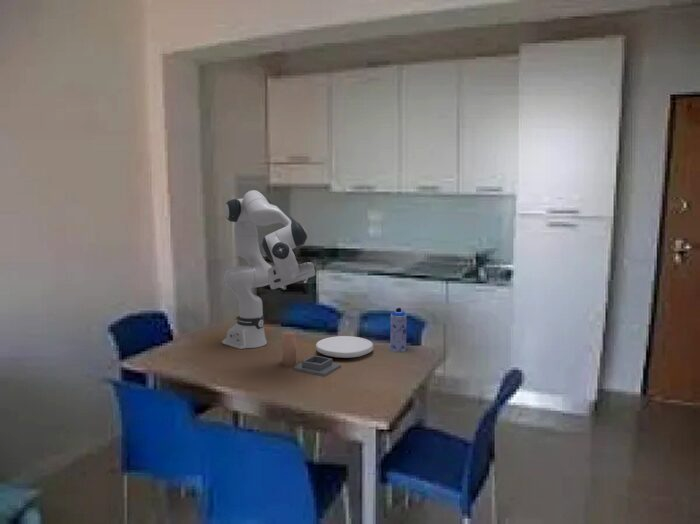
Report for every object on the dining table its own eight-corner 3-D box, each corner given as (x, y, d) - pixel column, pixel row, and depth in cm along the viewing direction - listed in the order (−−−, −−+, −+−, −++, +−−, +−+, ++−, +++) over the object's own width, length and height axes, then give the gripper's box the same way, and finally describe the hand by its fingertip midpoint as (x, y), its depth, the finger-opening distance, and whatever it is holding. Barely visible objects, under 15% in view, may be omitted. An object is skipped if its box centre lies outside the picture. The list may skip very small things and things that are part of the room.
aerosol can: (403, 352, 276) (403, 310, 273) (387, 350, 279) (387, 309, 276) (408, 348, 283) (409, 307, 280) (393, 346, 286) (393, 305, 283)
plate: (324, 332, 293) (377, 336, 288) (324, 345, 293) (377, 349, 288) (309, 343, 265) (367, 347, 260) (308, 358, 266) (367, 362, 261)
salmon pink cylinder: (279, 364, 260) (279, 334, 258) (287, 360, 265) (287, 330, 263) (290, 367, 257) (290, 335, 255) (298, 363, 262) (298, 332, 260)
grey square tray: (293, 369, 254) (293, 361, 253) (310, 361, 265) (310, 353, 264) (325, 376, 246) (324, 367, 245) (341, 367, 257) (340, 358, 256)
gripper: (310, 255, 249) (315, 271, 261) (263, 270, 248) (271, 285, 260) (314, 267, 246) (319, 283, 258) (267, 283, 245) (274, 298, 257)
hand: (295, 284), depth 259 cm, fingers open, 8 cm apart
